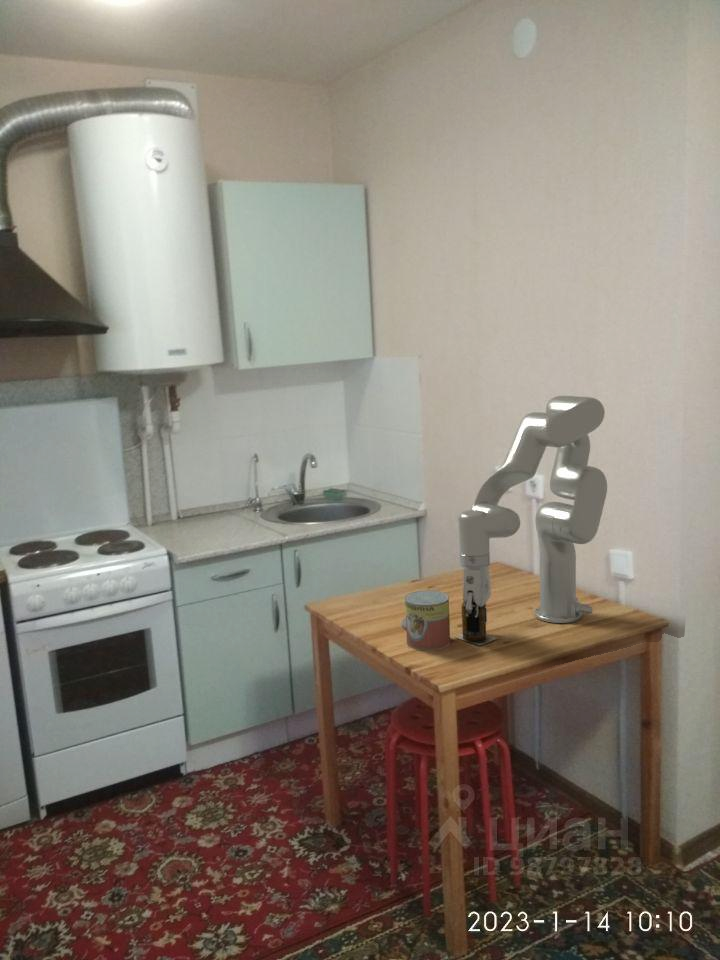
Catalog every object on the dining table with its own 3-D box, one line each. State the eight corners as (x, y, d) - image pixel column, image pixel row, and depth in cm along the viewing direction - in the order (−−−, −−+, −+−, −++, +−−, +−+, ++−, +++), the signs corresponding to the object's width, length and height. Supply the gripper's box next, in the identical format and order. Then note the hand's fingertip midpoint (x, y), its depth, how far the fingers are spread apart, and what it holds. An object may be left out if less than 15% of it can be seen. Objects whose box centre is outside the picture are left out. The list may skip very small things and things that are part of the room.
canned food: (397, 644, 202) (395, 599, 200) (423, 631, 210) (421, 587, 208) (434, 654, 195) (432, 607, 193) (459, 639, 203) (457, 595, 201)
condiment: (474, 630, 209) (472, 586, 207) (498, 638, 202) (497, 593, 200) (454, 638, 204) (453, 593, 202) (479, 646, 198) (477, 601, 196)
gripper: (480, 570, 191) (482, 640, 194) (497, 551, 206) (499, 616, 209) (450, 568, 194) (453, 637, 197) (469, 549, 209) (471, 614, 212)
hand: (477, 626), depth 203 cm, fingers closed on condiment, 6 cm apart
